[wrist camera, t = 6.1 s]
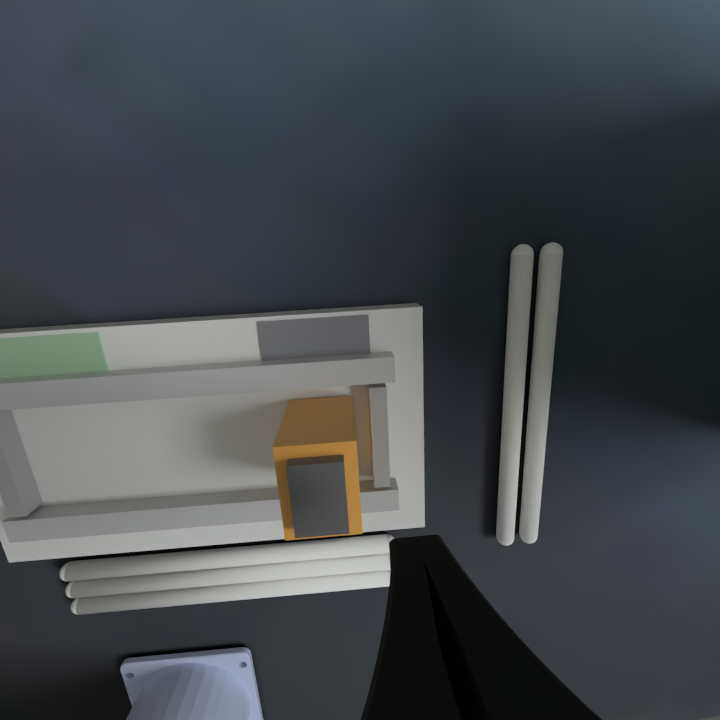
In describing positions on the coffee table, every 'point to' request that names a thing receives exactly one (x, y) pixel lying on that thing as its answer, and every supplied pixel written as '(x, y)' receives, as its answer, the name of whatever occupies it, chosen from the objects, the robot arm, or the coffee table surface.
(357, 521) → the lever
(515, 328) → the cords near
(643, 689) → the coffee table surface
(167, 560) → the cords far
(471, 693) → the robot arm
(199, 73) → the coffee table surface
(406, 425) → the white flat tray
